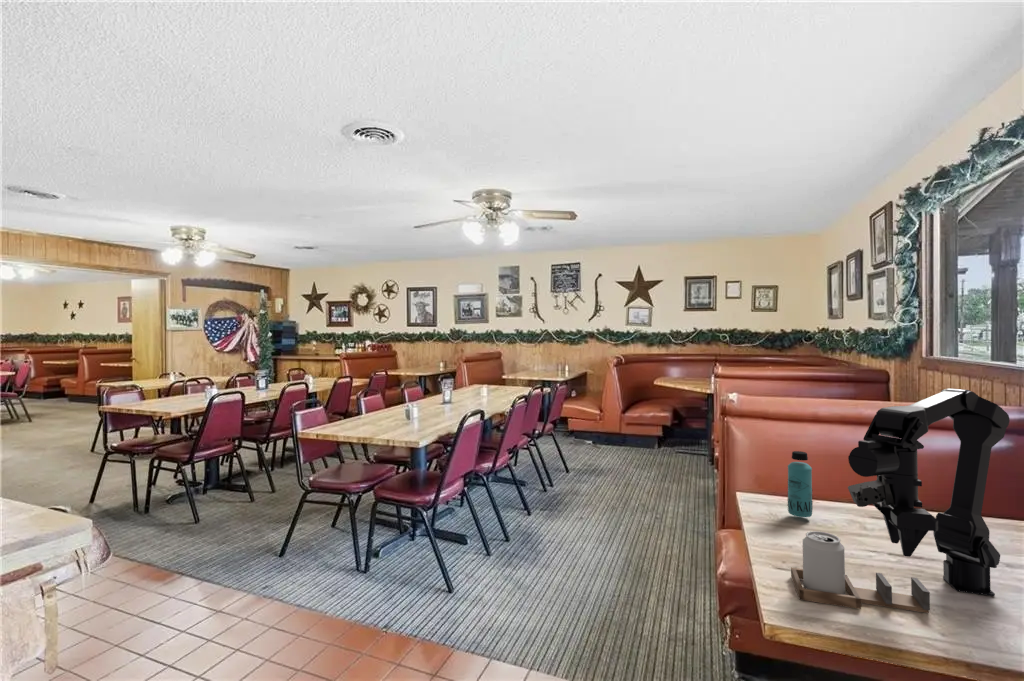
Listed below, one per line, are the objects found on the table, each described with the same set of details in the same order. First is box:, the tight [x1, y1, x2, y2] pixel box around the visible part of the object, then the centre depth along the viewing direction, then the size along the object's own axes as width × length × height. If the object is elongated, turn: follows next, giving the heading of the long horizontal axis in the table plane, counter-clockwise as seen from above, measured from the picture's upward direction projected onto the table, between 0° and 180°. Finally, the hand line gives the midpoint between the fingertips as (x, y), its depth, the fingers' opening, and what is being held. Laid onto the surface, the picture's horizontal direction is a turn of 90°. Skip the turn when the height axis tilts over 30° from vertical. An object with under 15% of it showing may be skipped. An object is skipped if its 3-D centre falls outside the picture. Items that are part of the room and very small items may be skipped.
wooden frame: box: [790, 567, 931, 614], centre depth 101 cm, size 22×11×4 cm, turn 68°
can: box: [802, 530, 846, 595], centre depth 103 cm, size 8×8×12 cm
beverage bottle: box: [786, 450, 814, 518], centre depth 146 cm, size 6×7×20 cm
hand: (900, 549), depth 98 cm, fingers open, 6 cm apart
